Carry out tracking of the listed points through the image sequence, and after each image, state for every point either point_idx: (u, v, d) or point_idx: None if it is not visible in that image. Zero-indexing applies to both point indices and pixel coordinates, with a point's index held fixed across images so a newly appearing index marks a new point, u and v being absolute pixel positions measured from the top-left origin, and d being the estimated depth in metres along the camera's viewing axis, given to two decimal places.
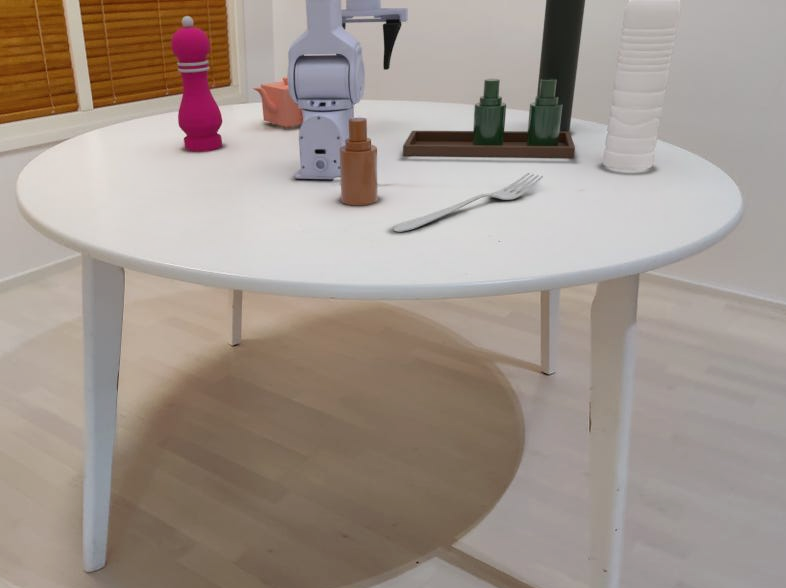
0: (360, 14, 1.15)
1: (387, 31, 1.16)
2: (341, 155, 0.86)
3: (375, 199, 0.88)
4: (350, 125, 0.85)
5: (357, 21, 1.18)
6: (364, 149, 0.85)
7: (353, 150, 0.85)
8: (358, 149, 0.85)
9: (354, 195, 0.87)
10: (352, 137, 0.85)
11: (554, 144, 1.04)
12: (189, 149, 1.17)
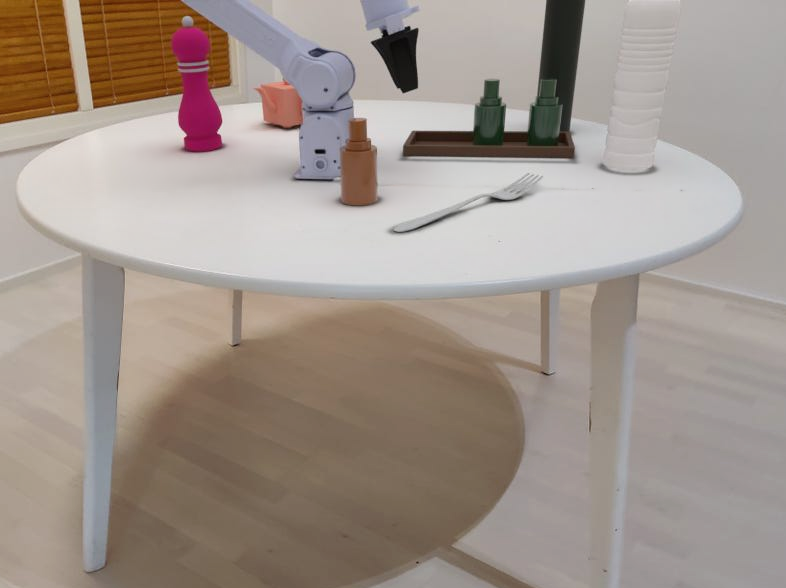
0: (366, 28, 0.92)
1: (379, 49, 0.89)
2: (341, 155, 0.86)
3: (375, 199, 0.88)
4: (350, 125, 0.85)
5: None
6: (364, 149, 0.85)
7: (353, 150, 0.85)
8: (358, 149, 0.85)
9: (354, 195, 0.87)
10: (352, 137, 0.85)
11: (554, 144, 1.04)
12: (189, 149, 1.17)
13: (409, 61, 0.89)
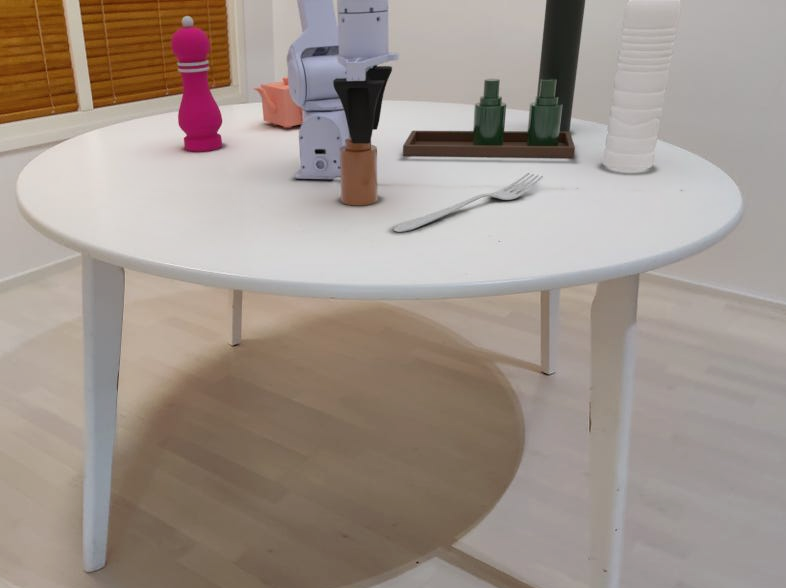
0: (337, 59, 0.82)
1: None
2: (341, 155, 0.86)
3: (375, 199, 0.88)
4: None
5: None
6: (364, 149, 0.85)
7: (353, 150, 0.85)
8: (358, 149, 0.85)
9: (354, 195, 0.87)
10: None
11: (554, 144, 1.04)
12: (189, 149, 1.17)
13: (366, 113, 0.80)
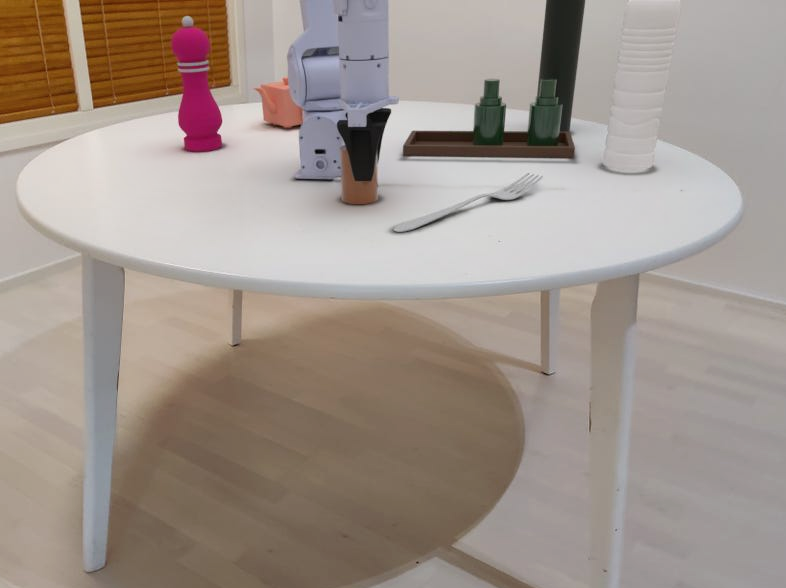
0: None
1: None
2: (342, 154, 0.86)
3: (375, 198, 0.89)
4: None
5: None
6: None
7: None
8: None
9: (354, 194, 0.87)
10: None
11: (554, 144, 1.04)
12: (189, 149, 1.17)
13: (369, 152, 0.84)
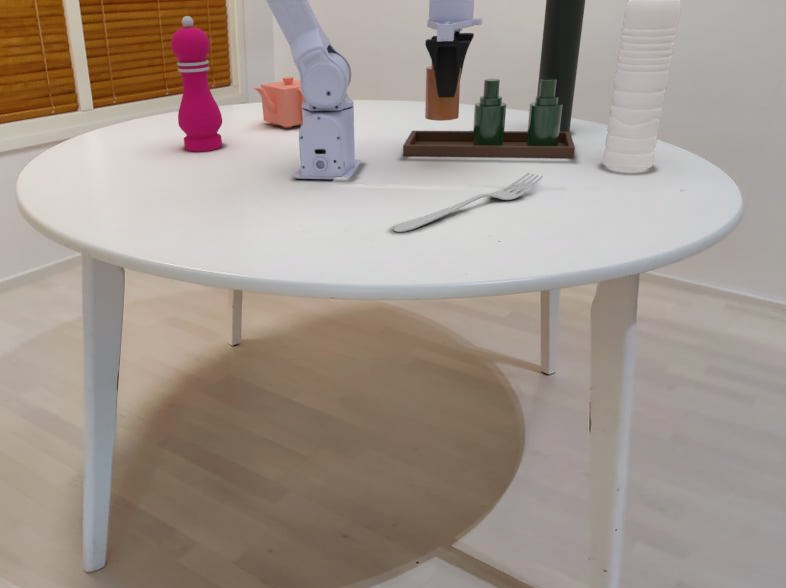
0: (427, 24, 0.93)
1: None
2: (428, 73, 0.95)
3: (456, 115, 0.97)
4: None
5: None
6: None
7: None
8: None
9: (437, 110, 0.96)
10: None
11: (554, 144, 1.04)
12: (189, 149, 1.17)
13: (453, 69, 0.92)
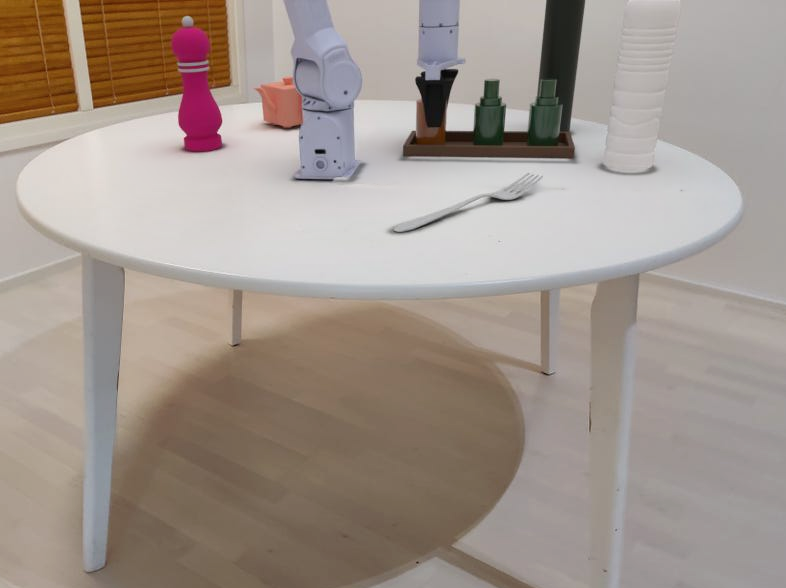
0: None
1: None
2: (418, 105, 1.06)
3: (444, 143, 1.08)
4: None
5: None
6: None
7: None
8: None
9: (427, 138, 1.07)
10: None
11: (554, 144, 1.04)
12: (189, 149, 1.17)
13: (440, 103, 1.04)
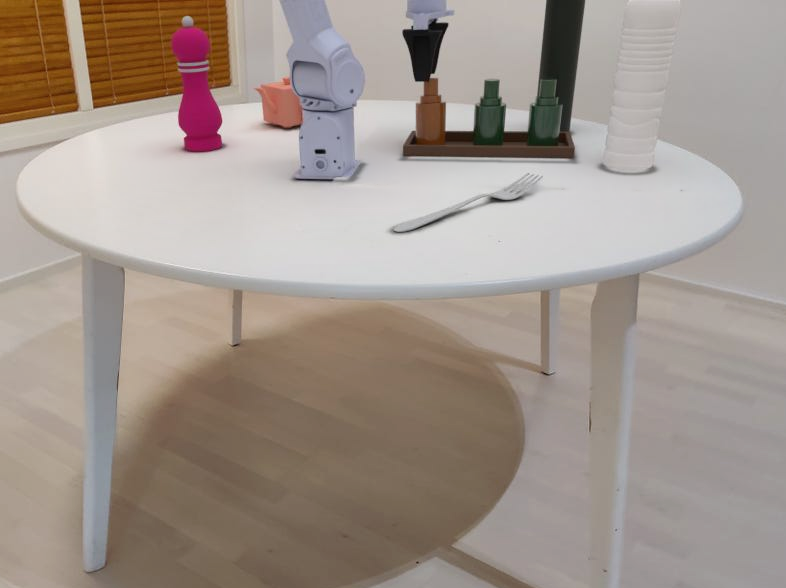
0: None
1: None
2: (417, 107, 1.07)
3: (443, 144, 1.09)
4: (425, 82, 1.06)
5: None
6: (436, 101, 1.06)
7: (427, 102, 1.06)
8: (431, 101, 1.06)
9: (426, 140, 1.07)
10: (426, 92, 1.06)
11: (554, 144, 1.04)
12: (189, 149, 1.17)
13: (427, 56, 1.03)
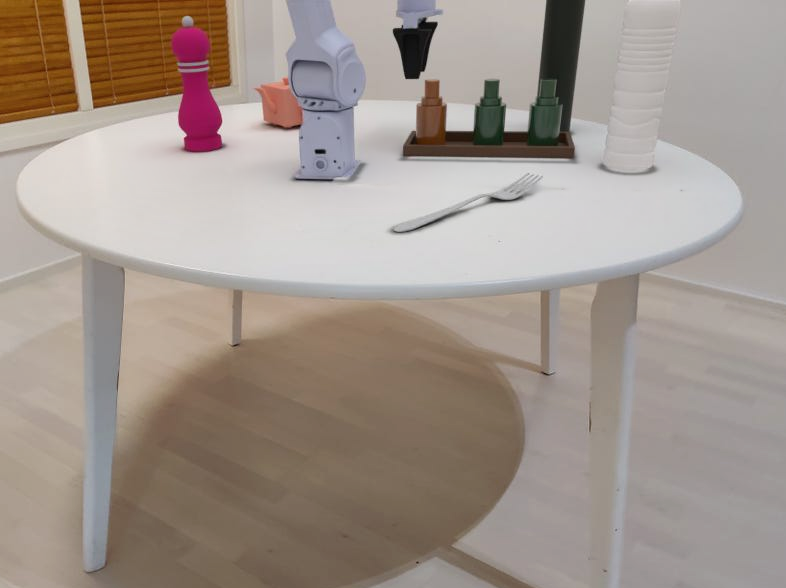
0: None
1: None
2: (418, 109, 1.06)
3: None
4: (426, 85, 1.05)
5: None
6: (437, 104, 1.05)
7: (428, 105, 1.05)
8: (432, 104, 1.05)
9: (427, 142, 1.08)
10: (427, 94, 1.05)
11: (554, 144, 1.04)
12: (189, 149, 1.17)
13: (417, 54, 1.05)
